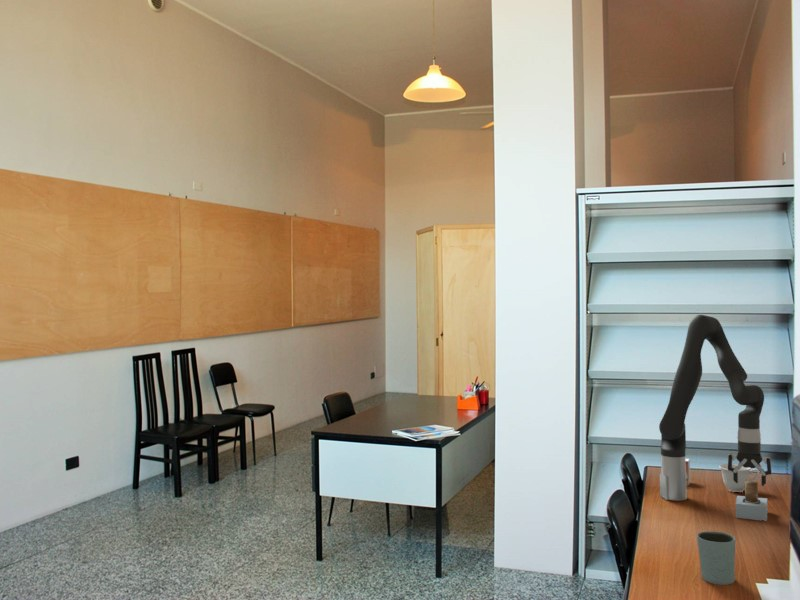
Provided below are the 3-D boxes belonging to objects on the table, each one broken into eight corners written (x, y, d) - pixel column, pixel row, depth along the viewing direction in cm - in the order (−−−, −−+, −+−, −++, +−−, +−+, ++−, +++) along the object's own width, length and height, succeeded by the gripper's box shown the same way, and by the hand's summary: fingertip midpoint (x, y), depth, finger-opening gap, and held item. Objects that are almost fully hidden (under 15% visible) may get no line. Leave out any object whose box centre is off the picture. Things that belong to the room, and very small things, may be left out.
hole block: (766, 521, 247) (766, 506, 247) (735, 517, 252) (735, 503, 252) (767, 511, 258) (767, 498, 258) (737, 508, 262) (737, 495, 262)
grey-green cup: (724, 588, 190) (723, 544, 190) (690, 577, 198) (689, 535, 199) (743, 579, 196) (742, 536, 196) (710, 569, 204) (708, 528, 205)
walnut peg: (749, 516, 253) (748, 483, 253) (743, 513, 257) (742, 480, 257) (761, 516, 253) (760, 483, 253) (754, 512, 257) (753, 480, 257)
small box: (669, 483, 301) (668, 459, 301) (670, 480, 306) (670, 457, 306) (689, 485, 297) (688, 461, 297) (690, 482, 302) (689, 458, 302)
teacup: (758, 497, 277) (758, 472, 277) (718, 492, 285) (717, 468, 285) (761, 490, 287) (760, 465, 287) (721, 486, 295) (721, 462, 295)
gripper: (771, 439, 254) (771, 484, 254) (728, 436, 261) (728, 479, 261) (770, 443, 248) (771, 488, 248) (726, 440, 255) (727, 484, 255)
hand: (749, 484), depth 255 cm, fingers open, 8 cm apart
